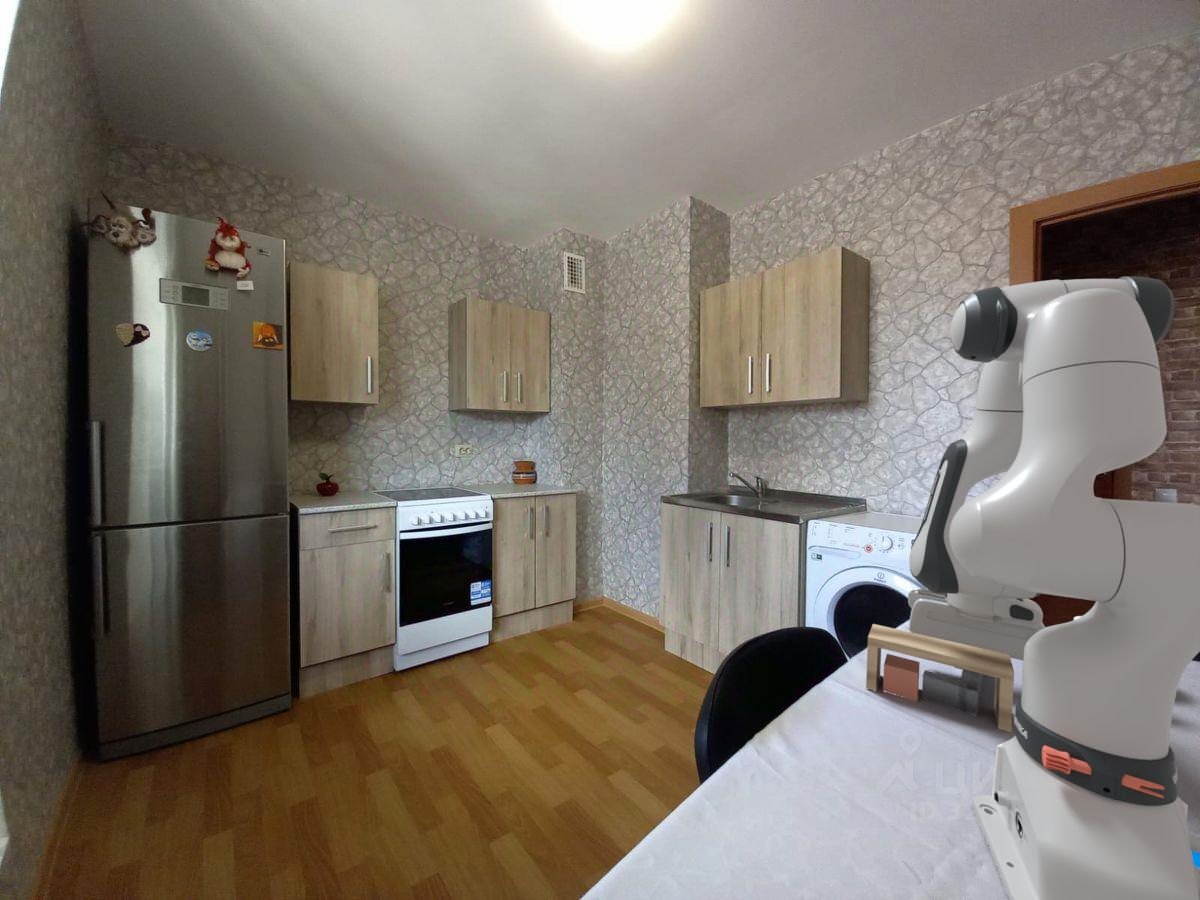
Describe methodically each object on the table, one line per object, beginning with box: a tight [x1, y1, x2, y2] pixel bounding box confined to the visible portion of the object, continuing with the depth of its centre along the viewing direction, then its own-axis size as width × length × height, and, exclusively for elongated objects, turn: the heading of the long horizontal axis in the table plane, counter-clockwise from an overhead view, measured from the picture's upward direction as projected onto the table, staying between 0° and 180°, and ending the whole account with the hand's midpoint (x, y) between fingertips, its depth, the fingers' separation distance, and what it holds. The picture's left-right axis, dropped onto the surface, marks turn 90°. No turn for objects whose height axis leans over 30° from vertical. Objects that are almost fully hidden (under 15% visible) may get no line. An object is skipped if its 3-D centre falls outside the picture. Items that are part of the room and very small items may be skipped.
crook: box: [921, 669, 983, 716], centre depth 86 cm, size 21×7×4 cm, turn 138°
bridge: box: [865, 623, 1015, 733], centre depth 80 cm, size 7×20×10 cm, turn 53°
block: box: [882, 653, 921, 702], centre depth 83 cm, size 5×5×5 cm
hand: (972, 671), depth 86 cm, fingers closed on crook, 3 cm apart
